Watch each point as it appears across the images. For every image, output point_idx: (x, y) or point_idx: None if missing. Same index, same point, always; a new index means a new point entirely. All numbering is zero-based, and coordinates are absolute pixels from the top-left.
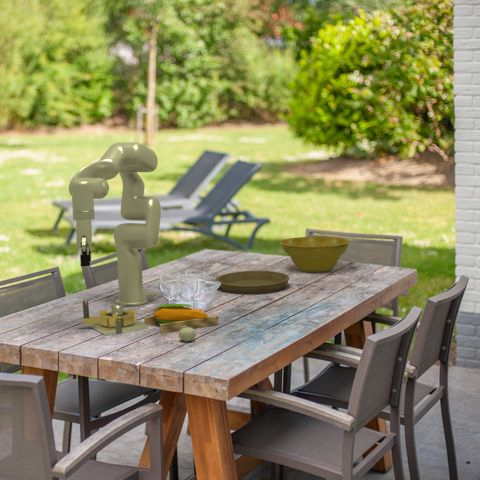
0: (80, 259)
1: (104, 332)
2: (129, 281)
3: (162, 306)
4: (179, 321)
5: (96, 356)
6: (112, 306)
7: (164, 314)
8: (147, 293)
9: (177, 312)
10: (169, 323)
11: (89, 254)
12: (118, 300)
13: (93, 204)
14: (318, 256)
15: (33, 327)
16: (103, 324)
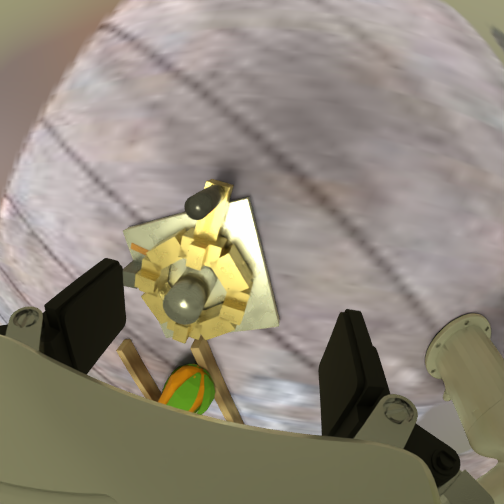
0: (72, 283)
1: (128, 228)
2: (461, 385)
3: (174, 395)
4: (141, 384)
5: (10, 193)
6: (169, 292)
7: (169, 382)
8: (446, 389)
9: (161, 401)
10: (127, 366)
11: (323, 409)
12: (476, 323)
13: None
14: None
15: (300, 32)
16: (168, 237)
